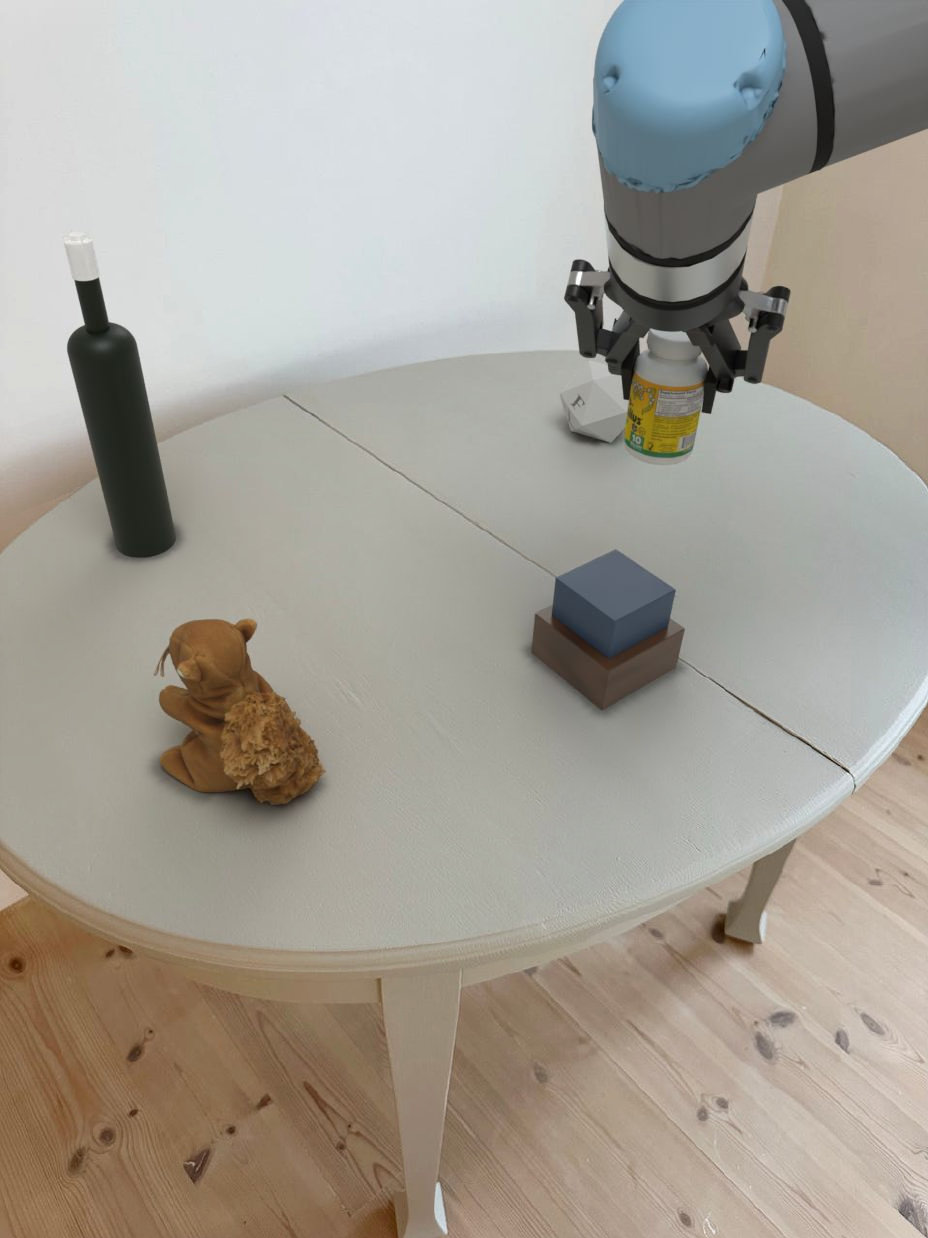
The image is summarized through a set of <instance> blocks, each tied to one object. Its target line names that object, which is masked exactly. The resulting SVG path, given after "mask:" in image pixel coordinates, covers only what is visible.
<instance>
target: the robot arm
mask: <svg viewBox="0 0 928 1238" xmlns="http://www.w3.org/2000/svg"><path fill="white" fill-rule="evenodd" d="M592 92H593V93H592V94H593V95H592V96H593V99H592V100H593V103H592V111H591V112H592V113H591V129H592V134H593V136H594V138H595V143H596V149H597V157H598V165H599V173H600V182H601V189H602V197H603V214H604V215H603V216H604V230H605V238H606V239H605V241H606V249H607V257H608V267H607V271H606V270H602V269H595V267H594V266H593V265H592V264H591V263H590V262H589V261H587V260H585V259H582V258H581V259H580V258H578V259H574V260H573V261H572V263H571V268H570V271H569V275H568V278H567V279H568V280H567V283H566V289H565V291H564V292H565V293H564V296H563V300H564V302H565V303H566V304H567V305H568V306H569V307H570V308H571V310H572V311H573V312H574V317H575V327H576V336H577V343H578V351H579V352H578V353H579V355H580V356H581V357H583V358H586V359H595V358H596V357H597V355H600V356H602V357H604V358H605V359H604V362H605V363H606V365H608V371H609V372H610V373H611V374H614V375H620V376H621V378H622V389H623V399H624V400H629V398H630V390H631V384H632V377H633V370H634V365H635V361H636V359H637V357H638V356H639V355H640V354H641V347H640V346H641V343H640V342H641V341H640V339H644V338H645V337H646V335H648V332H649V330H650V328H651V329H654V330H658V331H665V332H679V331H682V332H686V334H687V336H688V338H689V340H690V341H691V343H692V345H693V346H699V347H700V349H701V351H702V353H701V354H702V355H703V356H704V359H705V361H706V363H707V365H708V373H707V378H706V382H705V389H704V397H703V402H702V406H701V411H700V414H701V413H702V414H707V415H712V411H713V407H714V403H715V398H716V394H717V392H718V393H721V394H730V393H732V392H733V387H734V384H735V381H736V380H735V379H736V378H738V377H743V381H744V382H746V383H748V384H751V385H757V384H760V383H762V380H763V375H764V371H765V366H766V363H767V362H766V361H767V357H768V354H769V349H770V344H771V341H772V339H773V338H775V337H776V336H777V335H779V334H780V333H781V332H782V331H783V329H784V324H785V319H786V315H787V310H788V306H789V301H790V297H791V292H792V291H791V289H790V288H789V287H786V286H783V285H774V286H772V287H770V289H768V290H767V291H766V292H764V291H757V292H756V291H753V290H749V283H748V282H747V280H746V278H744V275H743V274H744V267H745V262H746V257H747V250H748V243H749V239H750V234H751V229H752V224H753V219H754V215H755V214H754V213H755V209H756V203H757V199H758V195H759V194H762V193H764V192H766V191H769V190H772V189H774V188H777V187H780V186H783V185H784V184H787V183H790V182H792V181H795V180H797V179H800V178H802V177H804V176H807V175H810V174H812V173H815V172H818V171H821V170H823V169H824V168H827V167H829V166H832V165H834V164H837V163H840V162H843V161H845V160H848V159H851V158H853V157H856V156H858V155H862V154H865V153H866V152H869V151H872V150H875V149H878V148H880V147H883V146H885V145H888V144H891V143H893V142H896V141H899V140H902V139H904V138H906V137H910V136H912V135H916V134H917V133H920V132H924V131H926V130H928V0H622V2H621V3H620V4H619V5H618V6H617V7H616V9H615V10H614V11H613V13H612V14H611V16H610V18H609V19H608V21H607V23H606V25H605V27H604V29H603V31H602V33H601V36H600V39H599V42H598V45H597V49H596V53H595V59H594V67H593V78H592ZM604 295H605V296H606V297H607V298H608V299H609V300H610V301H612V302H613V303H614V304H616V305H617V306H619V307H620V308H621V309H622V312H621V314H620V315H619V317H618V318H617V317H616V318H615V317H614V321H613V324H612V328H611V330H608V329H606V328H604V325H605V324H604V323H605V322H604V305H603V304H604V302H603V299H604ZM742 313H743V314H744V315H745V317H744V320H746V321H747V322H748V326H747V331H748V332H749V333H750V334H749V335H750V336H749V340H748V344H747V345H748V346H747V349H742V346H741V343H740V342H739V339H738V336H737V334H736V333H735V330H734V328H733V326H732V323H731V322H730V320H731V319H733V318H736V317H738V316H739V315H741V314H742Z"/></svg>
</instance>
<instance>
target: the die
mask: <svg viewBox="0 0 928 1238" xmlns="http://www.w3.org/2000/svg"><path fill="white" fill-rule="evenodd" d="M558 395H559V398H560V401H561V404H562V407H563V411H564V414H565V417H566V420H567V423H568V426H569V430H570V432H572V433H576V434H578V435H581V436H585V437H589V438H592V439H596V440H599V441H603V442H606V443H610V444H612V443H613V442H614V441H615V440H616V438H617V437H619V435H620V434H621V433H622V432H623V431H624V430H625V425H626V418H627V411H628V406H629V400H624V399H623V389H622V378H621V376H620V375H614V374H611V373H610V372H609V371H608V364H605V363H601V362H598V361H594V360H589V359H588V360H587V361H586V362H585V364H584V365H582V367H581V368H580V369H579V370H578V372H577V373H576V374H575V375H574V376H573V377H572V378H571V379H570V380H569V382H568V383H566V385H565V386H564V387H563V388H562V389H561V390H560V392H559V393H558Z"/></svg>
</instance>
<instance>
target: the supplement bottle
mask: <svg viewBox="0 0 928 1238" xmlns="http://www.w3.org/2000/svg"><path fill="white" fill-rule="evenodd" d="M646 344H647V349H645V350H643V351H642V352H640V355H639V356H638V357H637V359H636V361H635V365H634V370H633V377H632V384H631V390H630V398H629V406H628V411H627V418H626V425H625V428H624V432H623V440H622V444H623V448H624V449H625V451H626V452H627V454H628V455H629V456H631V457H633V458H634V459H636V460H638V461H640V462H642V463H645V464H650V465H654V466H672V465H677V464H680V463H682V462H685V461H686V460H687V459H688V458H690V457H691V455H692V453H693V451H694V446H695V441H696V436H697V431H698V427H699V422H700V421H699V420H700V415H701V411H702V404H703V397H704V389H705V382H706V378H707V373H708V369H709V366H708V363H707V361H706V359H705V358H703V356H702V354H703V353H702V351H701V349H700V347H699V346H693V345H692V343H691V341H690V340H689V338H688V336H687V334H686V332H682V331H679V332H665V331H658V330H654V329H651V328H650V330H649V331H648V332H647V337H646Z"/></svg>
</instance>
